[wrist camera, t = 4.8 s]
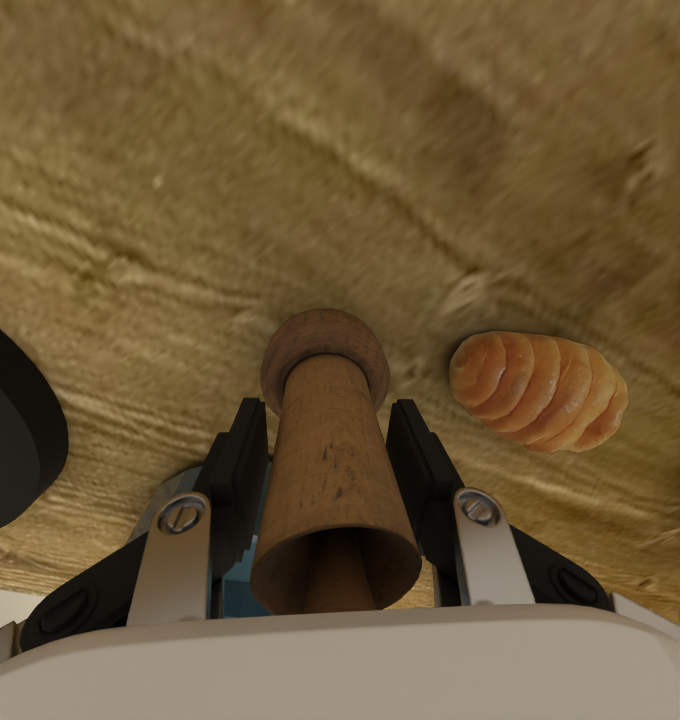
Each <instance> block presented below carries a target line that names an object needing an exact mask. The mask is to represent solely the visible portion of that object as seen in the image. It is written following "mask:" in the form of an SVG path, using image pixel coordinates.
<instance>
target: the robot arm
mask: <svg viewBox="0 0 680 720" xmlns="http://www.w3.org/2000/svg"><path fill="white" fill-rule="evenodd" d="M386 449H387V452H388V455H389V459H390V462H391V465H392V468H393V472H394V475H395V478H396V481H397V484H398V487H399V490H400V493H401V497H402V500H403V503H404V506H405V509H406V512H407V515H408V518H409V522H410V525H411V528H412V531H413V534H414V537H415V540H416V544H417V547H418V550H419V553H420V556H425V558H426V560H427V561H429V562H430V563H431V564H432V573H433V586H434V600H435V607H433V608H412V609H392V610H373V611H354V612H335V613H316V614H298V615H280V616H263V617H246V618H229V619H225V574H226V573H227V572H228V571H229V570H230V569H232V568H233V567H234V564H235V563H240V562H242V558H243V554H244V551H249V550H250V548H251V544H252V539H253V534H254V529H255V524H256V519H257V515H258V510H259V505H260V500H261V495H262V490H263V485H264V480H265V475H266V471H267V466H268V440H267V425H266V410H265V402H260V399H259V398H243V400H242V403H241V405H240V408H239V410H238V413H237V415H236V417H235V420H234V422H233V425H232V427H231V429H230V432H220V433H218V435H217V436H216V438H215V440H214V443H213V445H212V447H211V449H210V451H209V453H208V456H207V458H206V460H205V462H204V464H203V466H202V468H201V471H200V473H199V475H198V477H197V479H196V481H195V483H194V486H193V488H192V490H191V492H185V493H182V494H179V495H176V496H174V497H172V498H171V499H169V500H167V501H166V502H165V503H164V504H162V505H161V506H160V507H159V508H158V510H157V511H156V512H155V514H154V516H153V518H152V520H151V524H150V528H149V531H147V532H146V533H144V534H142V535H141V536H139V537H138V538H136V539H134V540H133V541H131V542H130V543H128V544H126V545H125V546H123V547H122V548H120V549H119V550H117V551H115V552H114V553H112V554H111V555H109V556H107V557H106V558H104V559H103V560H101V561H100V562H98V563H96V564H95V565H93V566H92V567H90V568H88V569H87V570H85V571H84V572H82V573H81V574H79V575H77V576H76V577H74V578H73V579H71V580H69V581H68V582H66V583H65V584H63V585H62V586H60V587H59V588H57V589H56V590H55V591H53V592H52V593H50V594H49V595H48V596H47V597H46V598H45V599H44V600H42V602H41V603H40V604H38V605H37V606H36V608H35V609H34V610H33V612H32V613H31V614H30V616H29V617H28V618H27V619H26V620H24V621H22V622H21V623H19V624H16V622H15V621H12V622H10V623H9V624H7V625H5V626H3V627H2V628H0V720H680V626H679V625H677V624H675V623H673V622H672V621H670V620H668V619H666V618H664V617H662V616H660V615H658V614H656V613H654V612H653V611H651V610H649V609H647V608H645V607H643V606H641V605H639V604H637V603H635V602H634V601H632V600H630V599H628V598H626V597H624V596H622V595H620V594H618V593H616V592H614V591H613V590H612V591H611V592H610V593H607V592H605V590H604V589H603V588H602V586H601V585H600V584H599V582H598V581H597V580H596V579H595V578H594V577H593V576H592V575H590V574H589V573H588V572H587V571H586V570H584V569H583V568H581V567H580V566H579V565H577V564H575V563H574V562H572V561H570V560H569V559H567V558H565V557H564V556H562V555H560V554H559V553H557V552H555V551H554V550H552V549H550V548H549V547H547V546H545V545H544V544H542V543H540V542H539V541H537V540H535V539H534V538H532V537H530V536H529V535H527V534H525V533H524V532H522V531H520V530H519V529H517V528H515V527H514V526H512V525H510V524H509V523H508V520H507V517H506V514H505V512H504V510H503V508H502V506H501V505H500V504H499V502H498V501H497V500H496V499H495V498H493V497H492V496H491V495H490V494H488V493H486V492H484V491H482V490H480V489H477V488H472V487H465V485H464V484H463V482H462V480H461V478H460V476H459V474H458V473H457V471H456V469H455V467H454V465H453V463H452V462H451V460H450V458H449V456H448V454H447V452H446V451H445V449H444V447H443V445H442V443H441V441H440V440H439V438H438V436H437V435H436V434H435V433H434V432H430V431H429V429H428V427H427V426H426V424H425V422H424V420H423V418H422V416H421V414H420V412H419V410H418V408H417V406H416V404H415V402H414V401H413V400H412V399H398V400H397V403H393V404H392V409H391V415H390V421H389V427H388V434H387V440H386Z"/></svg>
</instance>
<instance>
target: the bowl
mask: <svg viewBox="0 0 680 720" xmlns="http://www.w3.org/2000/svg"><path fill="white" fill-rule="evenodd" d="M271 466H272V462H269V461H268V466H267V471H266V475H265V480H264V485H263V490H262V495H261V500H260V505H259V510H258V515H257V519H256V524H255V529H254V534H253V539H252V544H251V548H250V550H249V551H244V554H243V558H242V562H240V563H235V564H234V567H233V568H232V569H230V570H229V571H228V572H227V573H226V574H225V619H229V618H246V617H263V616H276V615H274V614H272V613H270V612H269V611H267V610H266V609H265V608H264V607H262V605H261V604H260V603H259V602H258V601H256V600H255V598H254V597H253V594H252V591H251V588H250V574H251V569H252V563H253V558H254V553H255V548H256V543H257V538H258V533H259V528H260V523H261V518H262V513H263V508H264V503H265V498H266V493H267V487H268V482H269V477H270V472H271ZM201 468H202V466H199V467H195V468H191V469H188V470H186V471H184V472H182V473H181V474H179V475H177V476H176V477H174V478H172V479H170V480H169V481H167V482H165V483H164V484H162V485H160V486H159V487H158V489H157V490H156V491H155V493H154V494H153V495H152V497H151V498H150V499H149V500H148V502H147V503H146V504H145V506H144V507H143V509H142V510H141V512H140V514H139V515H138V517H137V519H136V520H135V522H134V524H133V525H132V527H131V529H130V530H129V532H128V534H127V535H126V537H125V538H124V540H123V542H122V543H121V545H120V547H119V548H118V550H119V549H120V548H122V547H123V546H125V545H126V544H128V543H130V542H131V541H133V540H134V539H136V538H138V537H139V536H141V535H142V534H144V533H146V532H147V531H149V528H150V524H151V520H152V518H153V516H154V514H155V512H156V511H157V510H158V508H159V507H160V506H161V505H162V504H164V503H165V502H166V501H167V500H169V499H171V498H172V497H174V496H176V495H179V494H182V493H185V492H191V490H192V488H193V486H194V483H195V481H196V479H197V477H198V475H199V473H200V471H201Z"/></svg>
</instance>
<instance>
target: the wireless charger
mask: <svg viewBox="0 0 680 720" xmlns="http://www.w3.org/2000/svg"><path fill="white" fill-rule="evenodd" d="M67 451H68V434H67V428H66V423H65V420H64V416H63V414H62V411H61V408H60V406H59V404H58V402H57V400H56V397H55V396H54V394H53V392H52V390H51V389H50V387H49V385H48V384H47V382H46V381H45V379H44V378H43V376H42V375H41V374H40V372H39V371H38V370H37V369H36V367H35V366H34V365H33V363H32V362H31V361H30V360H29V359H28V358H27V357H26V356H25V354H24V353H23V352H22V351H21V350H20V349H19V348H18V347H17V346H16V345H15V344H14V343H13V342H12V341H11V340H10V339H9V338H8V337H7V336H5V335H4V334H3V333H2V332H1V331H0V528H1V527H3V526H5V525H7V524H9V523H11V522H12V521H13V520H15V519H16V518H18V517H19V516H20V515H21V514H22V513H23V512H24V511H25V510H26V509H27V508H28V507H29V506H30V505H31V504H32V503H33V502H34V501H35V500H36V499H37V498H38V497H39V496H40V495H41V494H42V493H43V492H44V491H45V490H46V489H47V488H48V487H49V486H50V485H51V484H52V483H53V482H54V481H55V480H56V478H57V477H58V475H59V474H60V472H61V470H62V468H63V466H64V463H65V461H66V457H67Z"/></svg>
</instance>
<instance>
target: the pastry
mask: <svg viewBox="0 0 680 720" xmlns="http://www.w3.org/2000/svg"><path fill="white" fill-rule="evenodd" d="M449 381H450V391H451V396H452V397H453V398H454V399H456V400H457V401H458V402H459V403H460V404H462V405H463V406H464V407H465V408H466V409H467V411H468V412H469V413H470V415H471V416H472V417H474V418H476V419H478V420H480V421H481V422H482V423H483V424H484V425H485V426H487V427H488V428H489V429H490V430H491V431H492V432H493V433H494V434H497V435H498V436H500V437H501V438H504V439H507V440H511V441H515V442H517V443H520V444H523V446H524V447H525V448H526V449H528V450H531V451H536V452H542V453H552V452H555V451H556V450H571V451H574V452H582V451H585V450H590V449H592V448H594V447H596V446H598V445H600V444H602V443H603V442H604V441H605V440H607V439H608V438H609V437H610V436H611V435H613V434H614V433H615V432H616V431H617V429H618V428H619V425H620V423H621V419H622V413H623V411H624V409H625V408H626V407H627V406H628V392H627V386H626V382H625V381H624V380H623V378H622V376H621V374H620V372H619V371H618V370H617V368H616V367H614V366H613V365H611V364H609V363H608V362H607V361H606V360H605V357H604V356H603V355H602V354H601V353H599V352H598V351H597V350H596V349H595V348H594V347H592V346H590V345H585V344H580V343H577V342H573V341H570V340H568V339H565V338H561V337H555V336H546V335H538V334H529V333H516V332H507V331H490V332H486V333H481V334H475V335H472V336H470V337H469V338H467V339H466V340H464V341H463V342H462V343H461V345H460V346H459V348H458V349H457V351H456V352H455V353H454V355H453V357H452V359H451V361H450V365H449Z"/></svg>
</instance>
